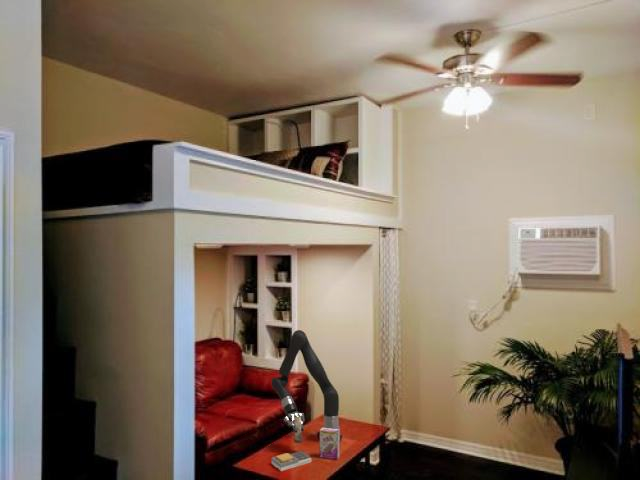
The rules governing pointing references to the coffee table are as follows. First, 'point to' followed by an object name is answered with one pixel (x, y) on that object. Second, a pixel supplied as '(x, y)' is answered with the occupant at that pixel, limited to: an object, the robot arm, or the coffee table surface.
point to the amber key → (284, 457)
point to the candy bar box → (329, 443)
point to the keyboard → (292, 461)
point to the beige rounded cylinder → (298, 430)
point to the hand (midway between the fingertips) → (299, 431)
